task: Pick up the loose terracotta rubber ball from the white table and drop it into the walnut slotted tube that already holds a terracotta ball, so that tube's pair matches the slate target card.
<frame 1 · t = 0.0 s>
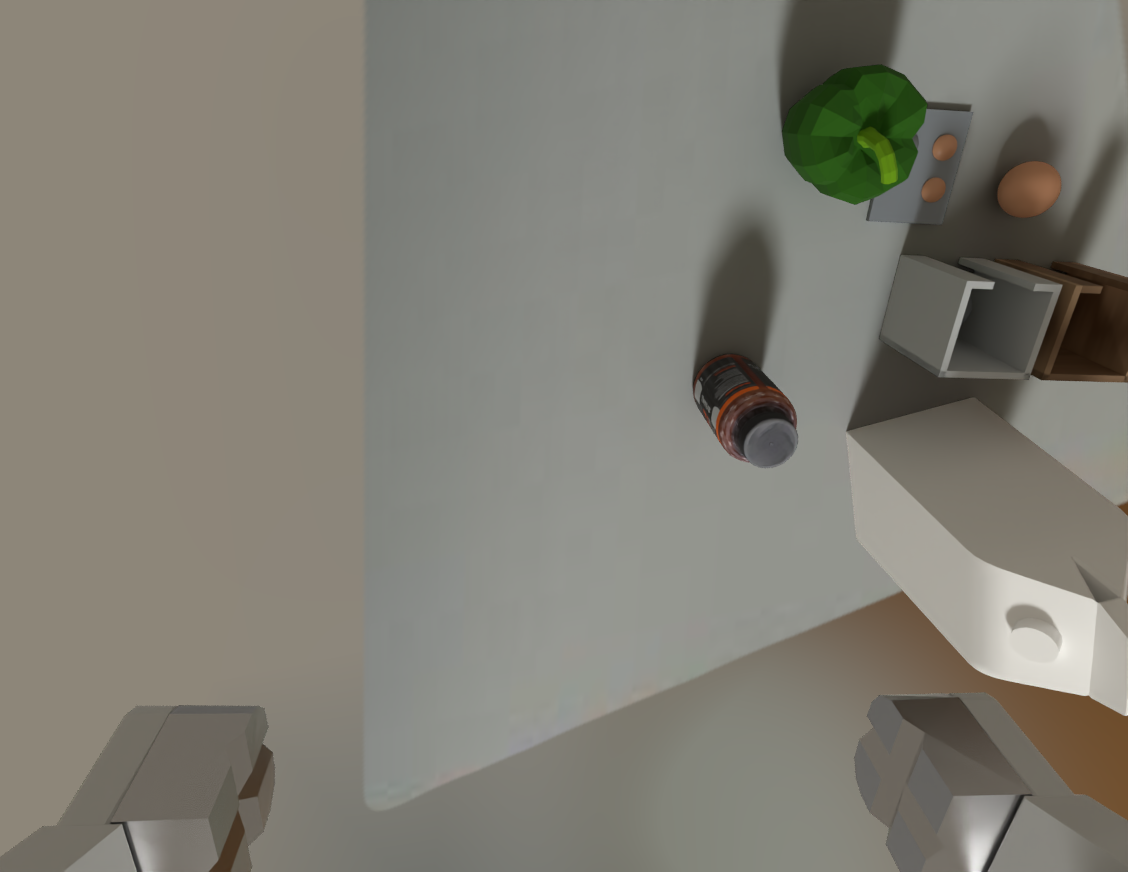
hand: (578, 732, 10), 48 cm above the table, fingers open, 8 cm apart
walnut tube: (1021, 303, 59), on the table
supplement bottle: (724, 384, 60), on the table
grey tube: (930, 299, 58), on the table
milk: (911, 470, 65), on the table
loose ball: (1011, 186, 55), on the table
target card: (916, 167, 53), on the table
bell pepper: (819, 132, 52), on the table
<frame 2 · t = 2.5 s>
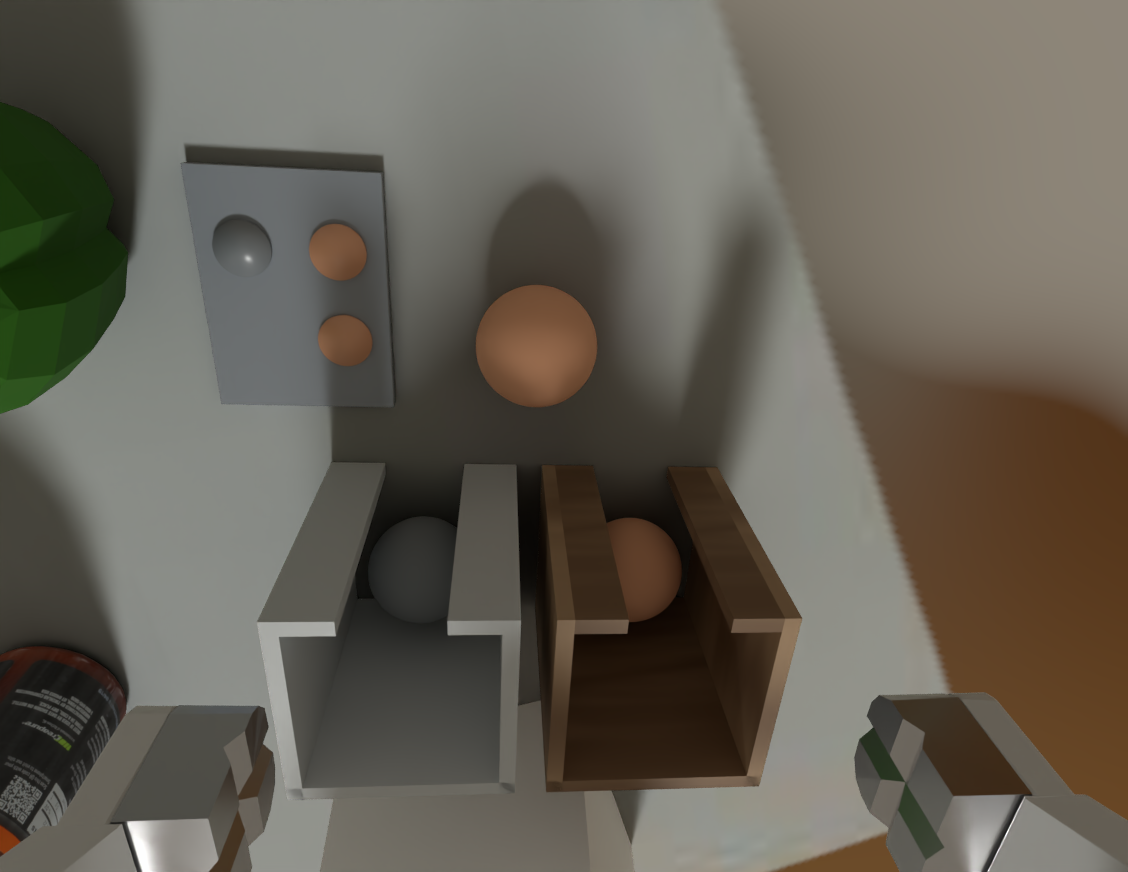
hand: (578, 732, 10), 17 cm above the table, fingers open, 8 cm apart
walnut tube: (622, 540, 29), on the table
supplement bottle: (62, 687, 31), on the table
tube ball terracotta: (630, 569, 28), in the walnut tube
grey tube: (427, 539, 29), on the table
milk: (496, 797, 36), on the table
loose ball: (534, 328, 25), on the table
tube ball charcoal: (422, 569, 27), in the grey tube
target card: (299, 292, 24), on the table
bell pepper: (36, 219, 23), on the table
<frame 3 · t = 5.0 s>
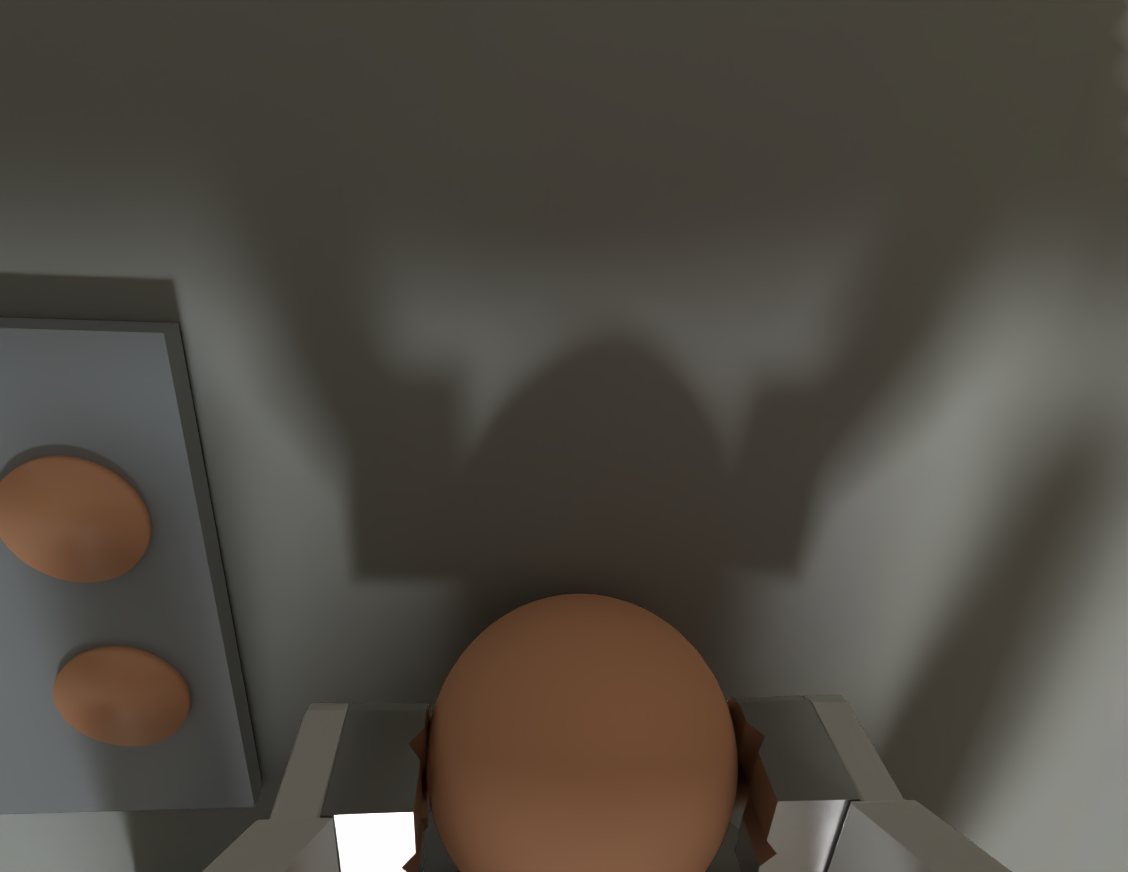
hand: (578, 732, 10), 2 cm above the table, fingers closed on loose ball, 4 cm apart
loose ball: (569, 643, 11), on the table, touching gripper
target card: (4, 593, 10), on the table
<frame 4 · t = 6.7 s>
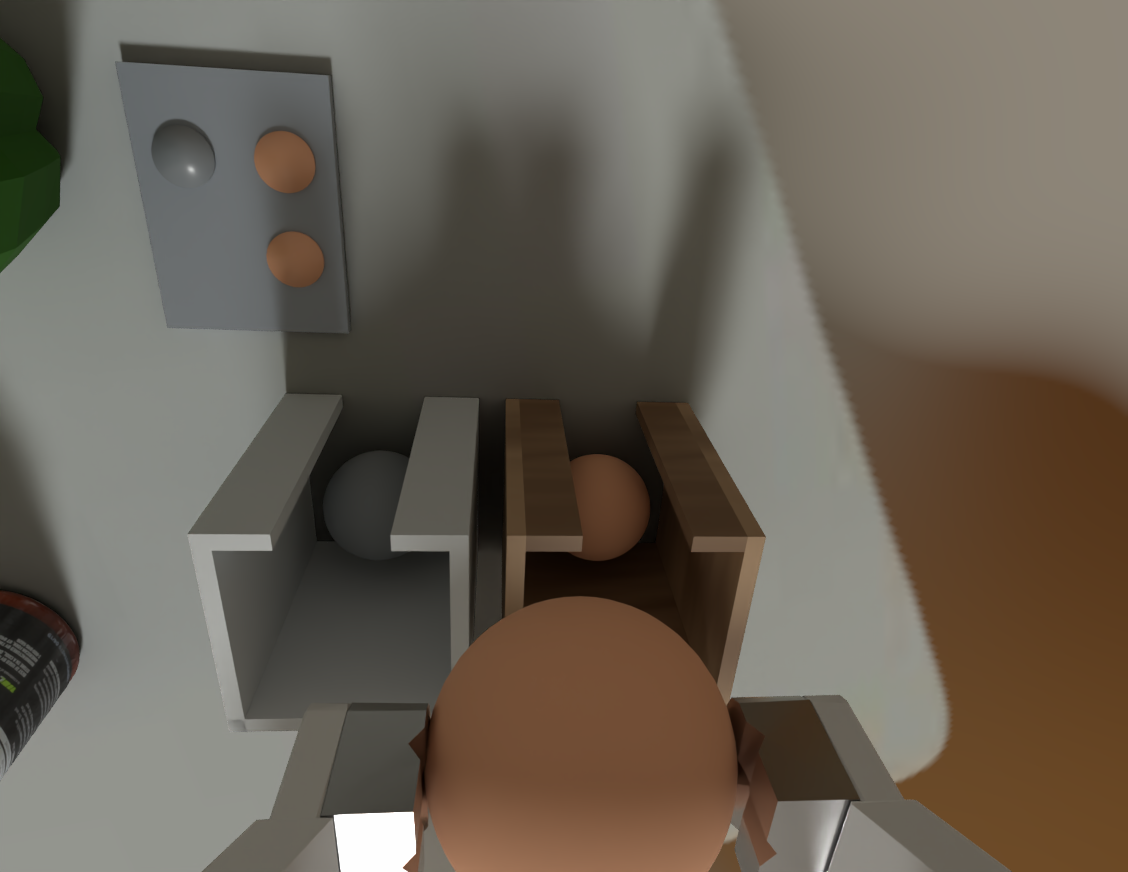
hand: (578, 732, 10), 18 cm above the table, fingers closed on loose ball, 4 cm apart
walnut tube: (591, 480, 28), on the table
supplement bottle: (13, 634, 30), on the table
tube ball terracotta: (596, 507, 27), in the walnut tube
grey tube: (388, 478, 28), on the table
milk: (466, 754, 35), on the table
loose ball: (568, 646, 11), point 16 cm above the table, touching gripper
tube ball charcoal: (380, 505, 26), in the grey tube
target card: (246, 207, 23), on the table
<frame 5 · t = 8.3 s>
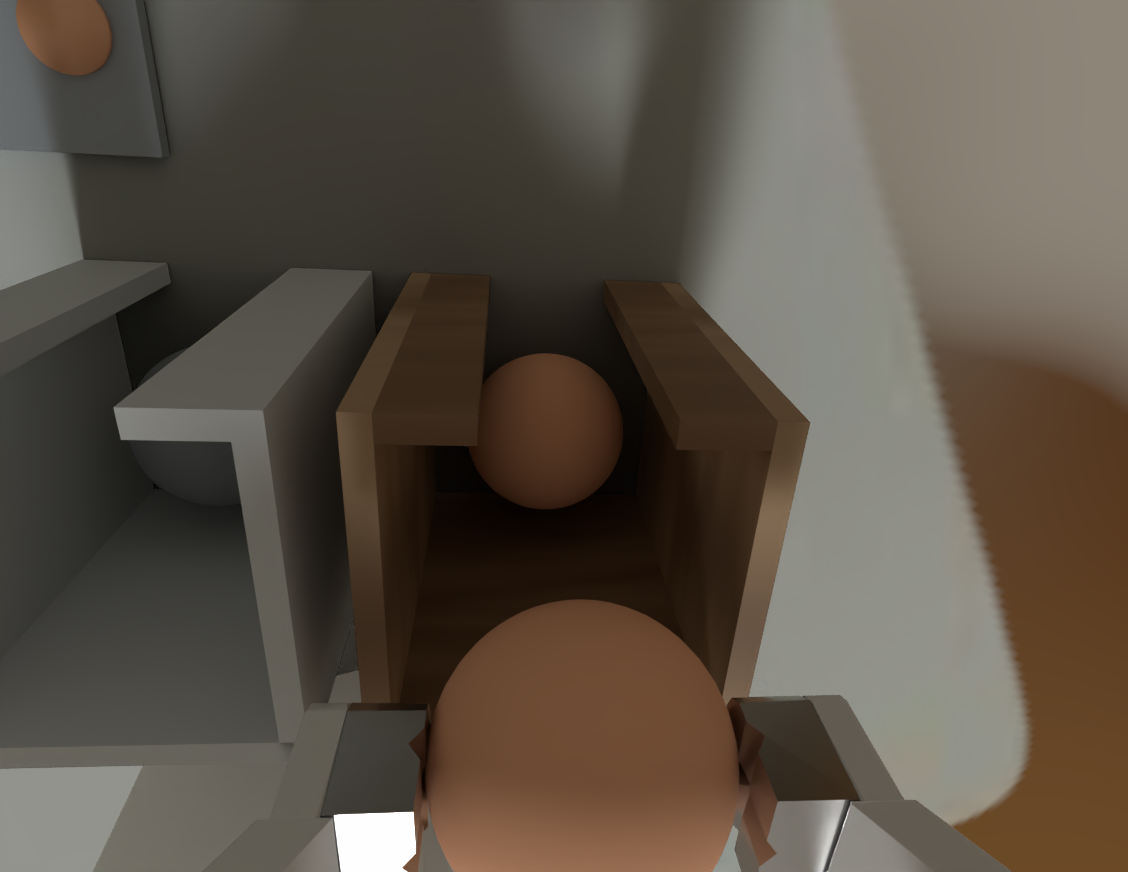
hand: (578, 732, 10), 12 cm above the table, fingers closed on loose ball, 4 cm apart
walnut tube: (541, 401, 20), on the table
tube ball terracotta: (545, 431, 18), in the walnut tube
grey tube: (248, 394, 19), on the table
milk: (390, 789, 27), on the table
loose ball: (569, 649, 11), point 10 cm above the table, touching gripper
tube ball charcoal: (221, 425, 17), in the grey tube
when the fingers open (12 cm above the table, at t = 8.7 s): loose ball drops 5 cm and tips over, resting on tube ball terracotta, walnut tube.
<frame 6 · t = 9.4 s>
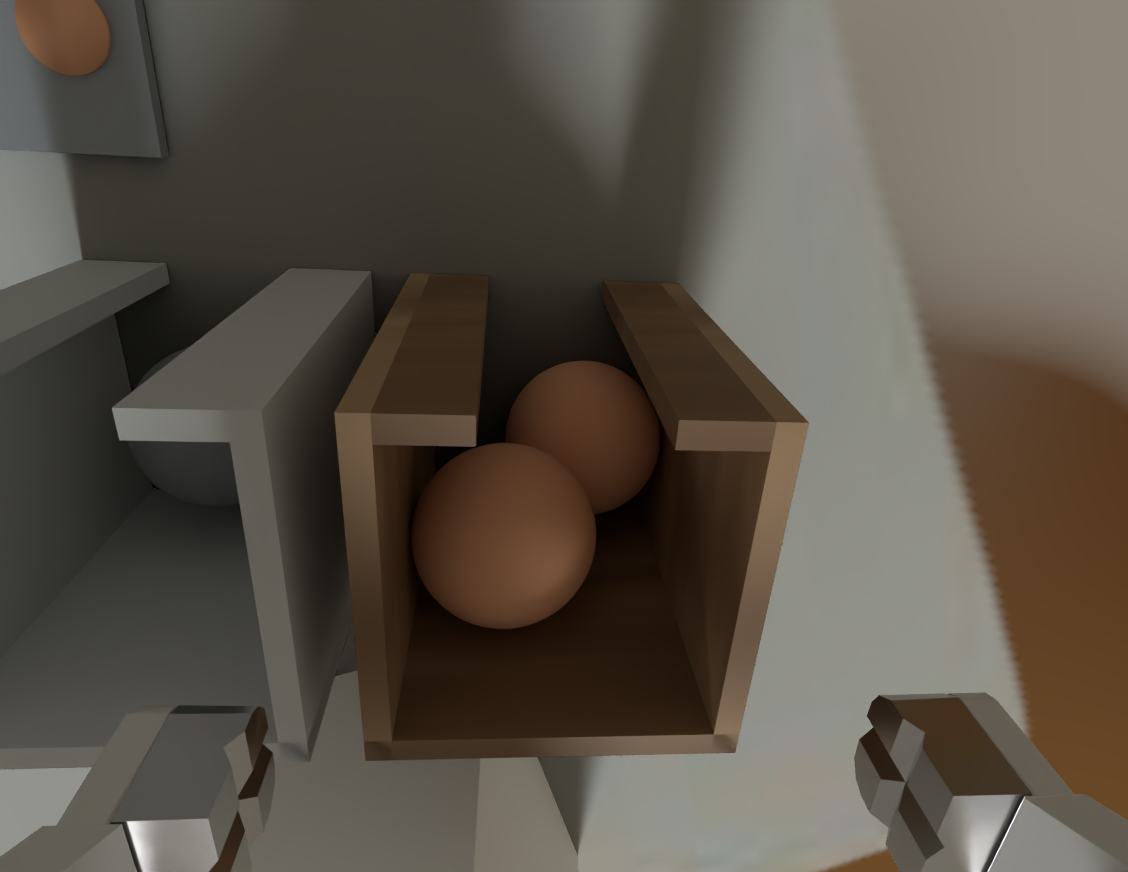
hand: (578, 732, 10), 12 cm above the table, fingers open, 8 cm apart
walnut tube: (541, 401, 20), on the table
tube ball terracotta: (582, 438, 18), resting in walnut tube, tilted 29°, touching loose ball
grey tube: (247, 394, 19), on the table
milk: (389, 789, 27), on the table
loose ball: (595, 526, 16), point 5 cm above the table, tilted 89°, touching tube ball terracotta, walnut tube
tube ball charcoal: (220, 425, 17), in the grey tube
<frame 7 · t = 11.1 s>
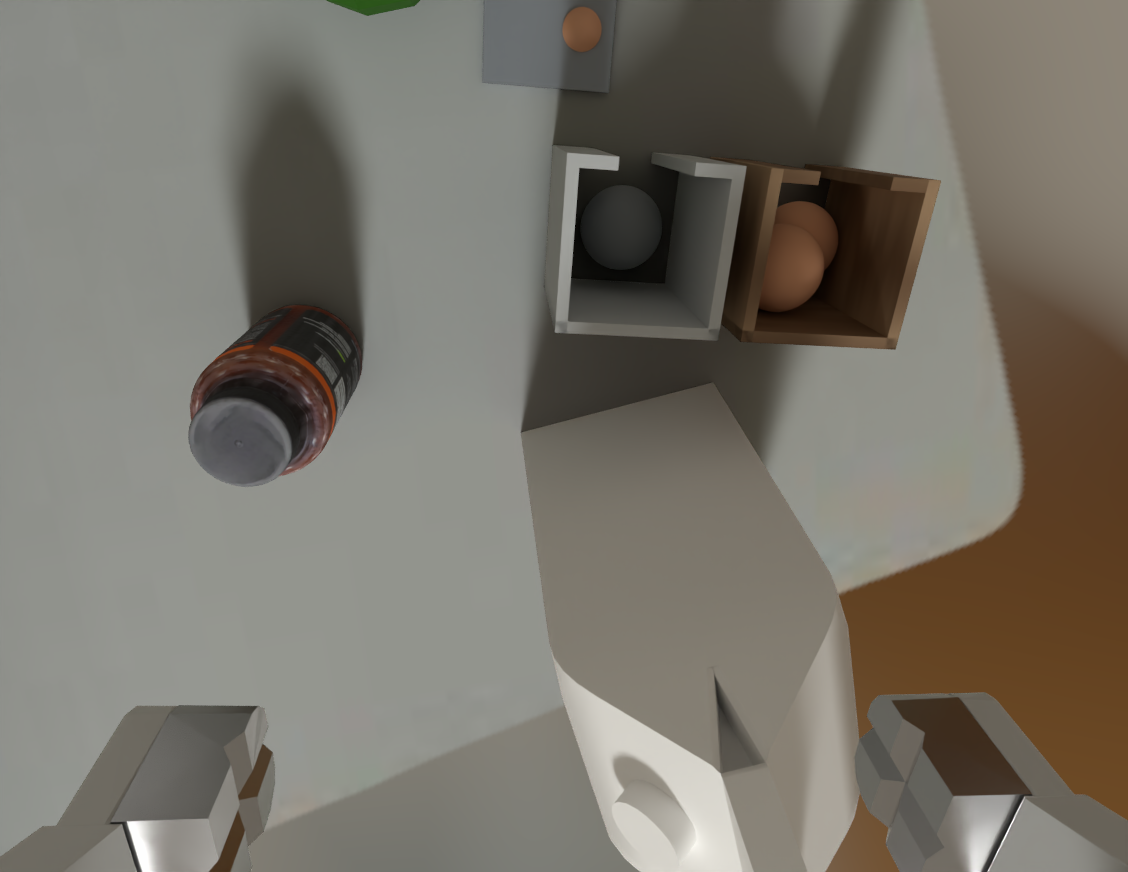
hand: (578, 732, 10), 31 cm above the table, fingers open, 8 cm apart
walnut tube: (764, 232, 37), on the table
supplement bottle: (310, 355, 38), on the table
tube ball terracotta: (796, 242, 36), resting in walnut tube, tilted 29°, touching loose ball
grey tube: (615, 222, 37), on the table
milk: (636, 493, 44), on the table
loose ball: (820, 266, 33), point 5 cm above the table, tilted 89°, touching tube ball terracotta, walnut tube
tube ball charcoal: (621, 228, 35), in the grey tube
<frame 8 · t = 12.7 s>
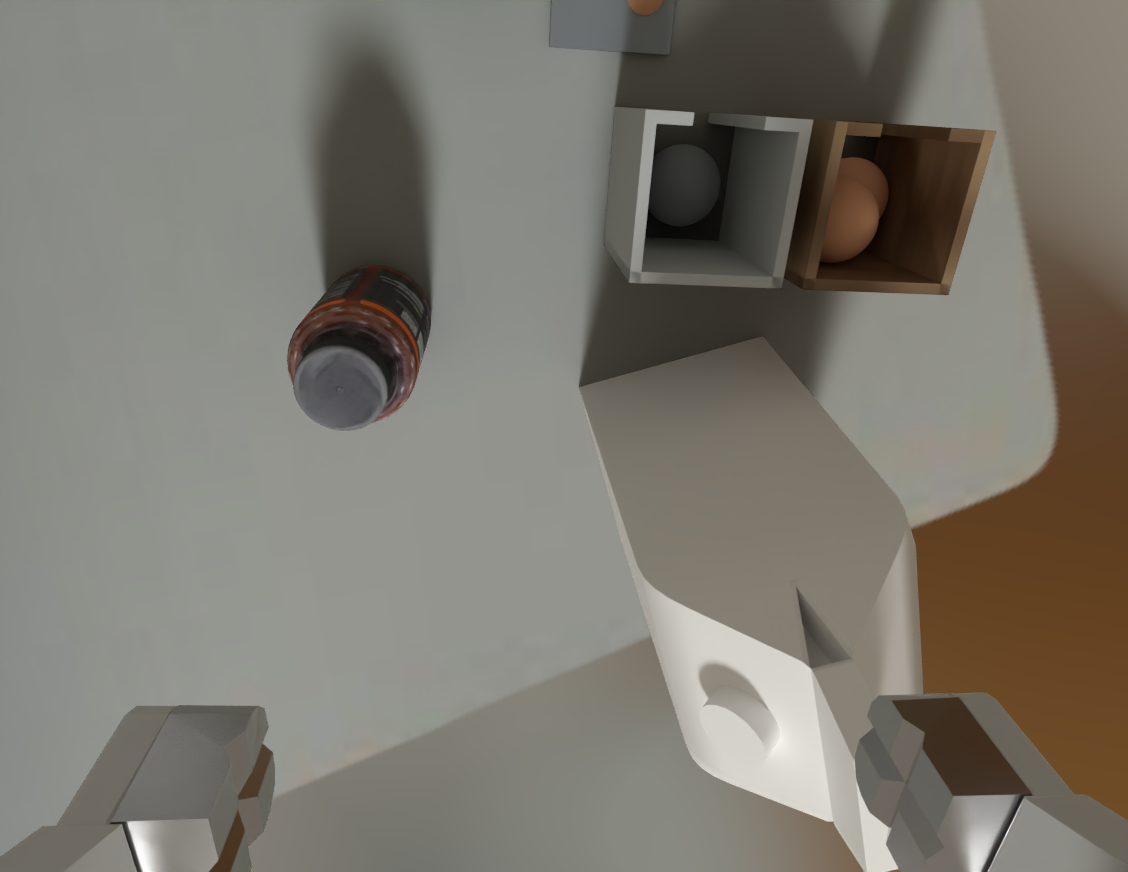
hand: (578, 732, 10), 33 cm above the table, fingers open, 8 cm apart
walnut tube: (814, 189, 39), on the table
supplement bottle: (380, 314, 40), on the table
tube ball terracotta: (847, 197, 37), resting in walnut tube, tilted 29°, touching loose ball
grey tube: (672, 181, 38), on the table
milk: (687, 445, 46), on the table
loose ball: (873, 218, 35), point 5 cm above the table, tilted 89°, touching tube ball terracotta, walnut tube
tube ball charcoal: (681, 185, 36), in the grey tube
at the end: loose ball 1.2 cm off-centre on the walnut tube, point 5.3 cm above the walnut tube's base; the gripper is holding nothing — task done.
